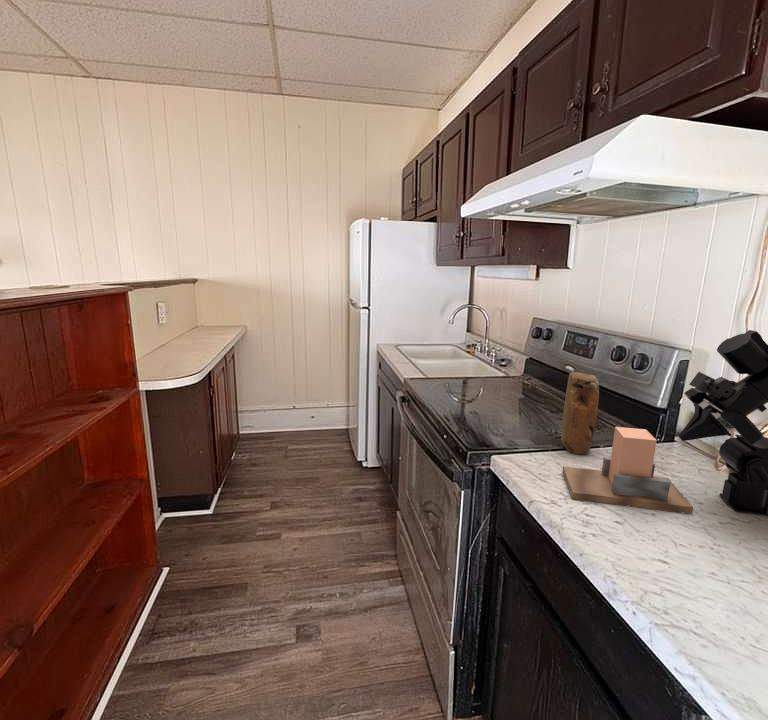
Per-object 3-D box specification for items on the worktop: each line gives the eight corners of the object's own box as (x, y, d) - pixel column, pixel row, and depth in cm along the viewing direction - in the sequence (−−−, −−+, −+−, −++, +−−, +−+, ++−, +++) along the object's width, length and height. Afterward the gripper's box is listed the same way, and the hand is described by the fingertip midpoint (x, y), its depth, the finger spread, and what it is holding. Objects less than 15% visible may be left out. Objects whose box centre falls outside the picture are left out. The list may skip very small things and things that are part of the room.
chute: (666, 484, 94) (670, 461, 93) (691, 513, 83) (696, 488, 82) (562, 472, 99) (564, 450, 98) (572, 498, 88) (575, 474, 87)
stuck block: (637, 480, 93) (645, 429, 90) (647, 494, 87) (656, 440, 84) (608, 477, 94) (615, 426, 91) (616, 490, 88) (623, 437, 86)
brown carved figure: (559, 437, 119) (567, 369, 115) (588, 441, 117) (597, 372, 112) (562, 453, 109) (570, 379, 105) (593, 458, 107) (603, 382, 102)
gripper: (702, 351, 90) (637, 396, 95) (755, 372, 72) (672, 426, 77) (737, 389, 90) (671, 432, 95) (799, 419, 72) (714, 470, 77)
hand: (680, 438), depth 86 cm, fingers closed
